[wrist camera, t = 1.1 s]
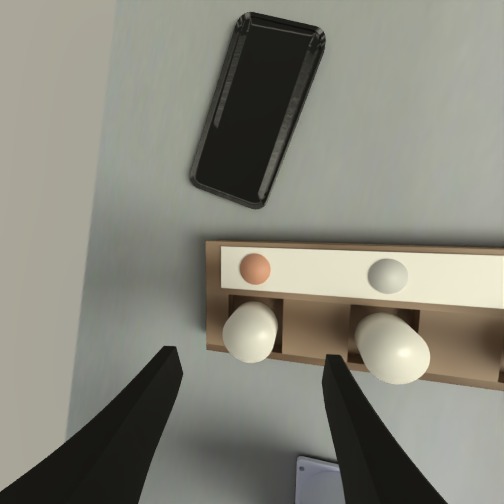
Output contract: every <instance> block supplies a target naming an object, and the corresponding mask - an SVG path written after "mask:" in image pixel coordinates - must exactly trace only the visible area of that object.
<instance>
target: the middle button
mask: <svg viewBox="0 0 504 504" xmlns="http://www.w3.org/2000/svg"><path fill="white" fill-rule="evenodd" d="M355 343H356V346H357V348H358V350H359V352H360V354H361V357H362V359H363V361H364V363H365V366H366V367H367V369H368V370H369V371H370V373H372V374H373V375H374V376H375V377H376V378H378V379H380V380H382V381H384V382H387V383H391V384H406V383H410V382H413V381H415V380H417V379H418V378H420V377H421V376H422V375H423V374H424V373H425V372H426V370H427V368H428V366H429V363H430V352H429V348H428V346H427V344H426V342H425V341H424V340H423V338H422V337H421V336H420V335H418V334H417V333H416V332H415V331H414V330H413V329H412V328H411V327H410V326H409V325H408V324H407V323H405V322H404V321H403V320H402V319H401V318H399V317H398V316H396V315H393V314H390V313H383V312H380V313H373V314H370V315H368V316H366V317H365V318H363V319H362V320H361V321H360V322H359V324H358V325H357V327H356V330H355Z"/></svg>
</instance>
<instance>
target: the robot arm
mask: <svg viewBox="0 0 504 504" xmlns="http://www.w3.org/2000/svg"><path fill="white" fill-rule="evenodd" d="M182 376H183V371H182V367H181V363H180V360H179V356H178V352H177V349H176V346H163V347H162V348H161V350H160V351H159V352H158V353H157V354H156V355H155V356H154V357H153V358H152V359H151V361H150V362H149V363H148V364H147V365H146V366H145V367H144V368H143V369H142V370H141V371H140V373H139V374H138V375H137V376H136V377H135V378H134V379H133V380H132V381H131V382H130V383H129V384H128V385H127V386H126V387H125V388H124V389H123V390H122V391H121V392H120V393H119V394H118V395H117V396H116V397H115V398H114V399H113V400H112V401H111V402H110V403H109V404H108V405H107V406H106V407H105V408H104V409H103V410H102V411H101V412H100V413H99V414H97V415H96V416H95V417H94V418H93V419H92V420H91V421H90V422H89V423H88V424H86V425H85V426H84V427H83V428H82V429H81V430H80V431H78V432H77V433H76V434H75V435H74V436H72V437H71V438H70V439H69V440H68V441H66V442H65V443H64V444H63V445H62V446H60V447H59V448H58V449H57V450H55V451H54V452H53V453H52V454H50V455H49V456H48V457H47V458H45V459H44V460H43V461H41V462H40V463H39V464H37V465H36V466H35V467H33V468H32V469H31V470H29V471H28V472H27V473H25V474H24V475H23V476H21V477H20V478H19V479H17V480H16V481H15V482H13V483H12V484H10V485H9V486H8V487H6V488H5V489H4V490H2V491H1V492H0V504H138V502H139V499H140V495H141V492H142V489H143V486H144V482H145V479H146V476H147V473H148V470H149V467H150V463H151V461H152V458H153V455H154V452H155V450H156V447H157V445H158V442H159V440H160V437H161V435H162V432H163V430H164V427H165V425H166V423H167V420H168V418H169V415H170V413H171V410H172V408H173V405H174V402H175V400H176V397H177V394H178V391H179V387H180V384H181V380H182ZM322 388H323V395H324V403H325V409H326V413H327V418H328V422H329V426H330V431H331V435H332V439H333V444H334V448H335V452H336V457H337V461H338V464H335V463H330V462H326V461H321V460H317V459H313V458H308V457H304V456H299V457H298V458H297V472H296V498H295V504H448V503H447V502H446V501H445V500H444V499H443V498H442V496H441V495H440V494H439V493H438V492H437V491H436V490H435V488H434V487H433V486H432V485H431V484H430V483H429V481H428V480H427V479H426V478H425V477H424V475H423V474H422V473H421V472H420V470H419V469H418V468H417V467H416V466H415V464H414V463H413V462H412V461H411V459H410V458H409V457H408V455H407V454H406V453H405V452H404V450H403V449H402V448H401V446H400V445H399V444H398V443H397V441H396V440H395V438H394V437H393V436H392V434H391V433H390V432H389V430H388V429H387V427H386V426H385V425H384V423H383V422H382V420H381V419H380V418H379V416H378V415H377V413H376V412H375V410H374V409H373V407H372V406H371V404H370V403H369V401H368V400H367V398H366V397H365V395H364V394H363V392H362V390H361V389H360V387H359V386H358V384H357V382H356V381H355V379H354V377H353V376H352V374H351V372H350V370H349V369H348V367H347V365H346V363H345V361H344V359H343V358H342V356H341V355H336V354H326V359H325V365H324V371H323V378H322ZM301 466H302V467H301Z"/></svg>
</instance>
